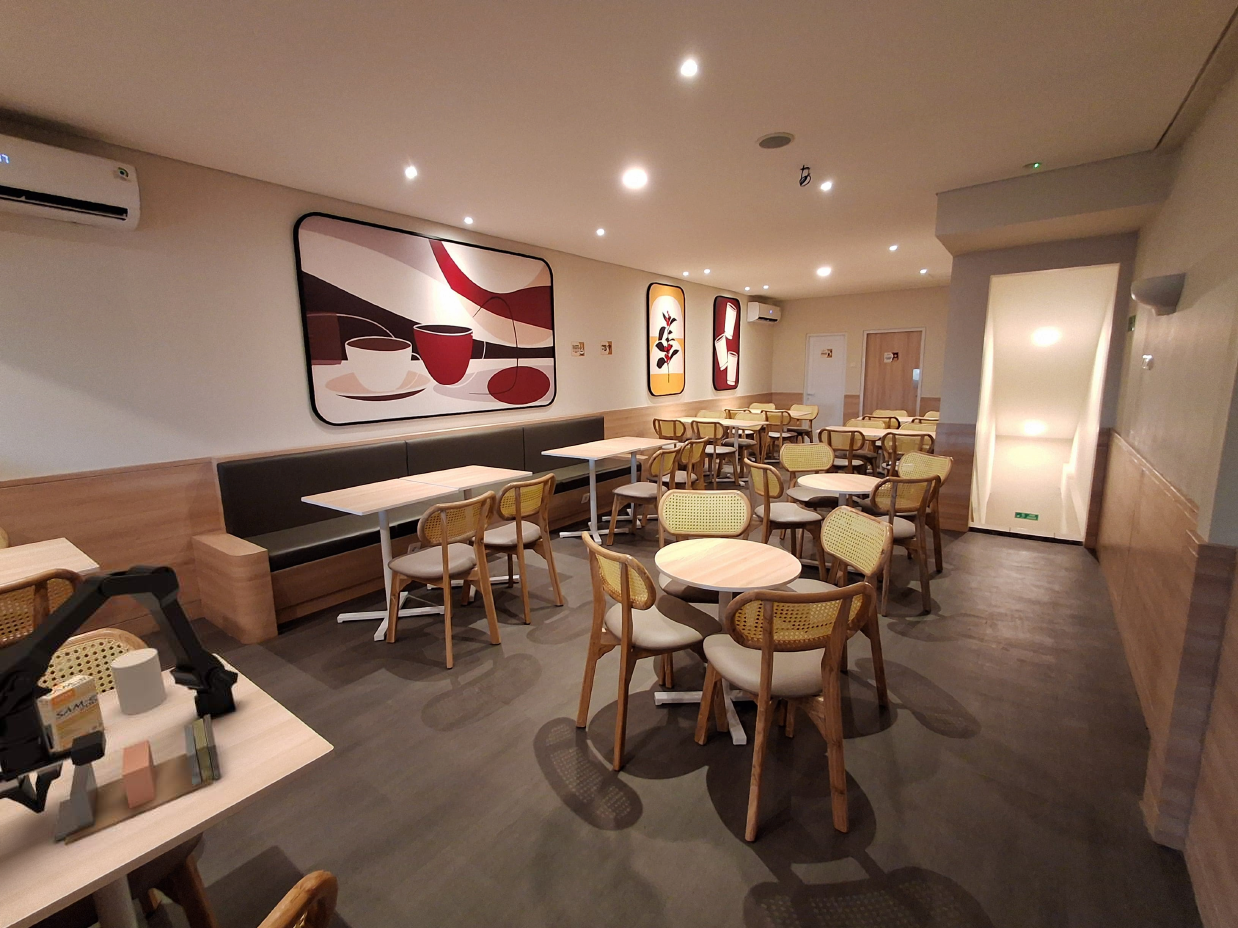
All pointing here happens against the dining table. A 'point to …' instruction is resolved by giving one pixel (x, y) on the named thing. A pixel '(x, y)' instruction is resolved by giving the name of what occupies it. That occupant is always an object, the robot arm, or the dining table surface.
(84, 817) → the bookend
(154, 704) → the cup
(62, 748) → the supplement box
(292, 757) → the dining table surface
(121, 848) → the dining table surface
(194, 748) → the shelf
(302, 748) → the dining table surface
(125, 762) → the terracotta rectangular block
